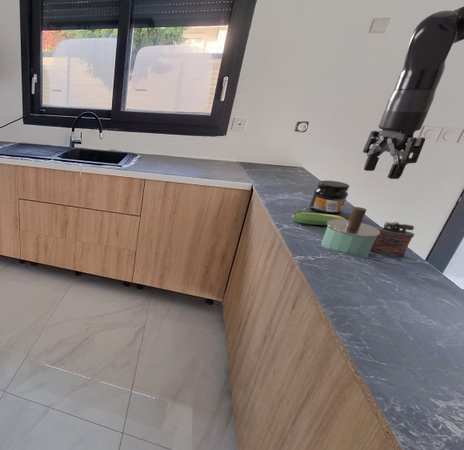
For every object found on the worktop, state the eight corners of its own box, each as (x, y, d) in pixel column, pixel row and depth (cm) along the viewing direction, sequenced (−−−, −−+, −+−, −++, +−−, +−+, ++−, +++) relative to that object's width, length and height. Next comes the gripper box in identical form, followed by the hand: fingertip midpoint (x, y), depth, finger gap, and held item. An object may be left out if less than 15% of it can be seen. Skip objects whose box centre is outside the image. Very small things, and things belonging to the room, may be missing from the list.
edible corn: (289, 219, 121) (292, 208, 119) (352, 225, 115) (356, 214, 113) (292, 224, 117) (296, 213, 115) (358, 231, 110) (363, 219, 108)
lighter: (369, 251, 97) (381, 222, 93) (367, 247, 100) (379, 218, 96) (405, 258, 93) (419, 228, 89) (402, 253, 95) (416, 224, 91)
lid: (381, 230, 95) (391, 208, 92) (375, 243, 88) (385, 220, 85) (330, 219, 104) (338, 199, 101) (321, 230, 96) (329, 208, 93)
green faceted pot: (370, 250, 98) (379, 228, 95) (364, 263, 91) (374, 240, 88) (325, 238, 106) (332, 218, 103) (317, 249, 99) (324, 228, 96)
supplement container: (331, 218, 122) (341, 188, 117) (302, 209, 131) (311, 182, 126) (346, 213, 126) (357, 185, 121) (318, 205, 135) (327, 178, 130)
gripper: (452, 111, 69) (419, 182, 75) (400, 107, 82) (376, 168, 88) (413, 111, 70) (384, 181, 76) (367, 107, 83) (346, 167, 89)
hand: (380, 174), depth 82 cm, fingers open, 8 cm apart
